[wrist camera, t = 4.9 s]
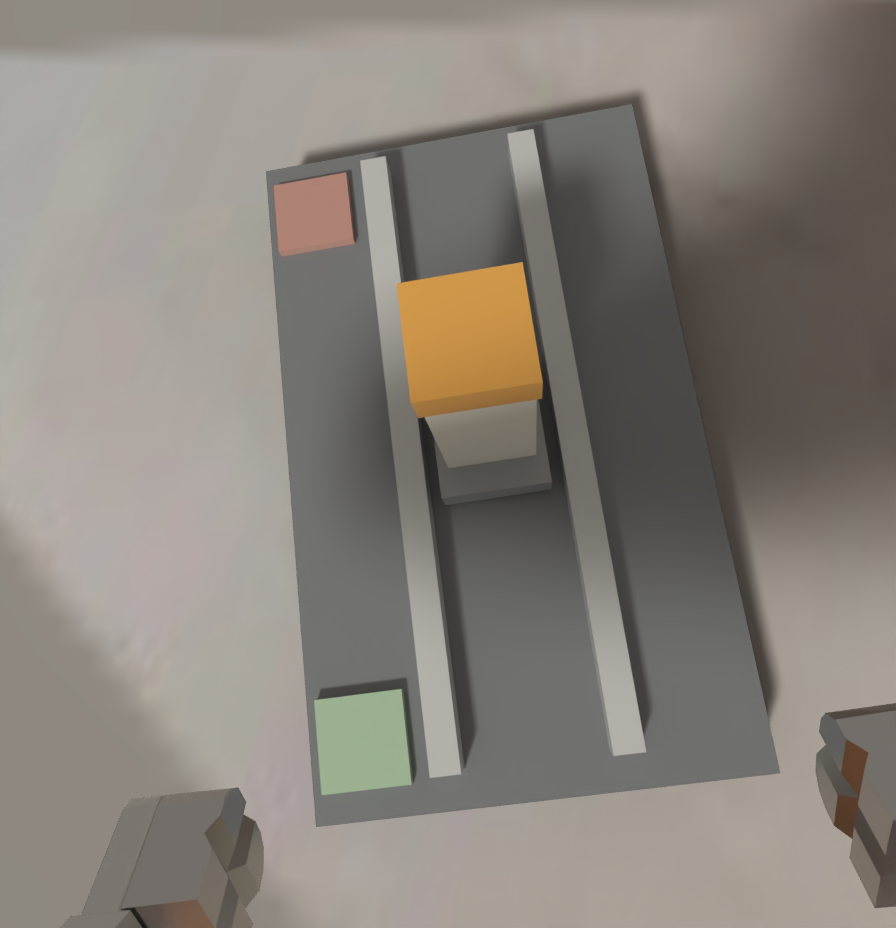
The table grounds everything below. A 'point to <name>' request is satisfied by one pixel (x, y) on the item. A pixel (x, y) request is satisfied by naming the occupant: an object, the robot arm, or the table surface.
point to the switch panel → (511, 517)
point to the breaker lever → (477, 381)
